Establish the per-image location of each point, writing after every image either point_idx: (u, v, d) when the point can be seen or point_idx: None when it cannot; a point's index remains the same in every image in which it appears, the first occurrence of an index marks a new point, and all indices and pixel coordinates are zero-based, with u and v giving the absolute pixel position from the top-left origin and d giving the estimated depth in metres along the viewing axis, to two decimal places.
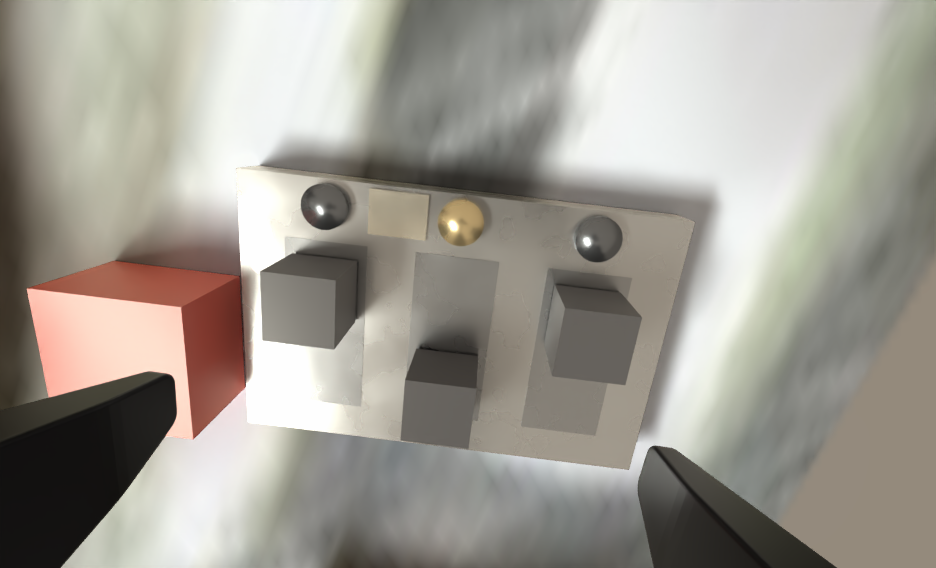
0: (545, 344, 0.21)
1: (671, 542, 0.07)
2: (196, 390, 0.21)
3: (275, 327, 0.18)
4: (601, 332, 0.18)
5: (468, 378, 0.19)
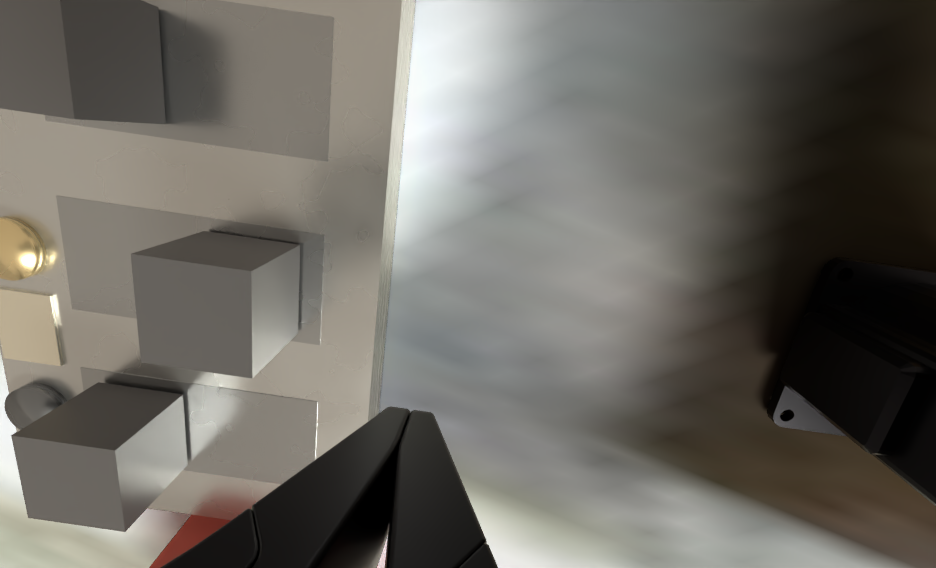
0: (147, 122, 0.13)
1: (392, 500, 0.07)
2: None
3: (101, 513, 0.14)
4: None
5: None
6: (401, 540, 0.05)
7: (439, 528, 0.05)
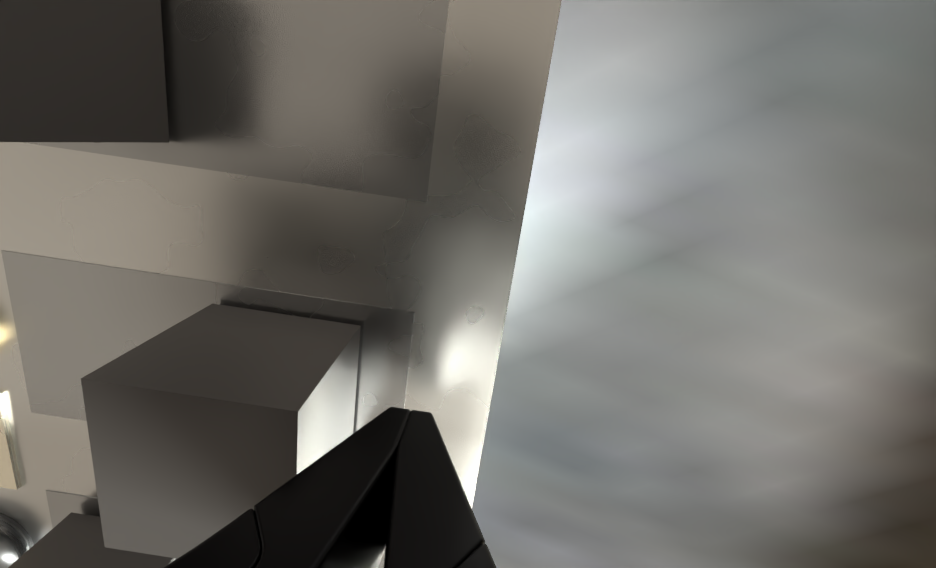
0: None
1: (390, 500, 0.07)
2: None
3: None
4: None
5: None
6: (399, 540, 0.05)
7: (437, 528, 0.05)
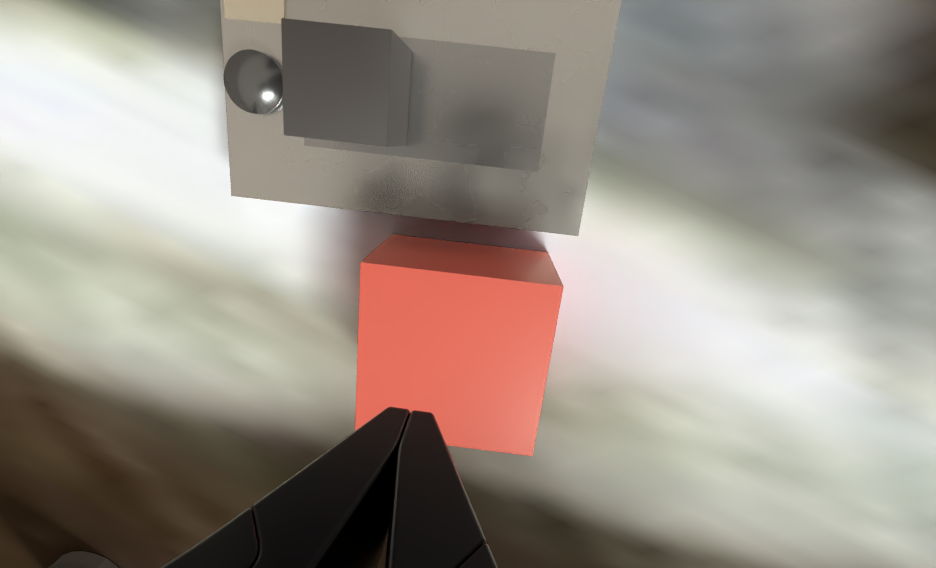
0: None
1: (391, 500, 0.07)
2: (493, 273, 0.15)
3: (363, 123, 0.13)
4: None
5: None
6: (401, 540, 0.05)
7: (439, 528, 0.05)
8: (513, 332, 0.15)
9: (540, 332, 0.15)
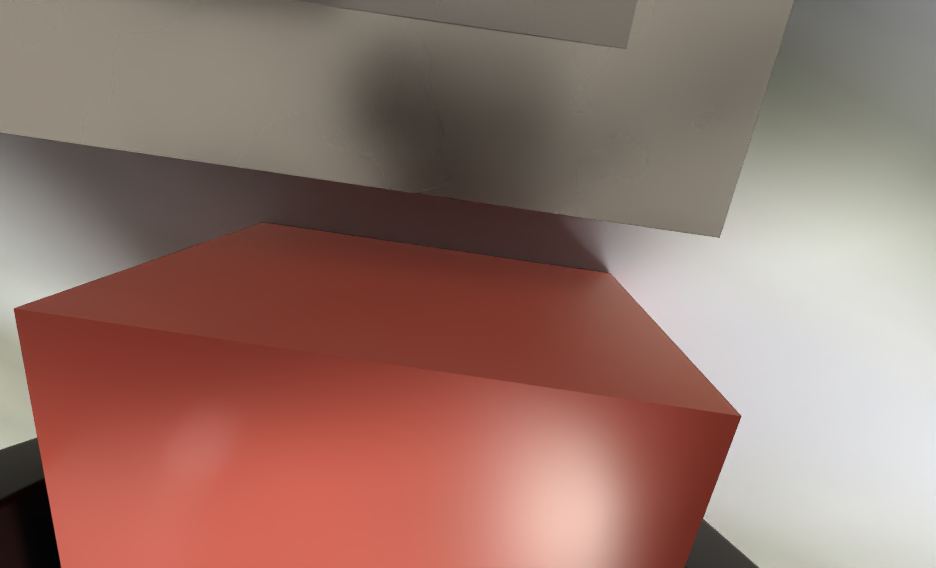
0: None
1: None
2: (489, 352, 0.05)
3: None
4: None
5: None
6: None
7: None
8: (551, 547, 0.05)
9: (640, 552, 0.05)
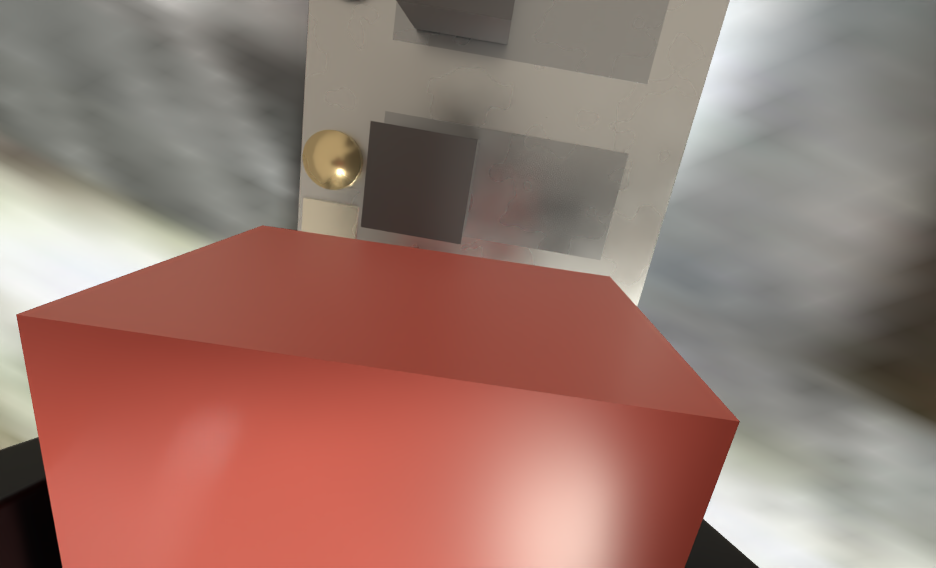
0: (500, 41, 0.14)
1: None
2: (489, 357, 0.05)
3: None
4: None
5: None
6: None
7: None
8: (550, 551, 0.05)
9: (639, 556, 0.05)
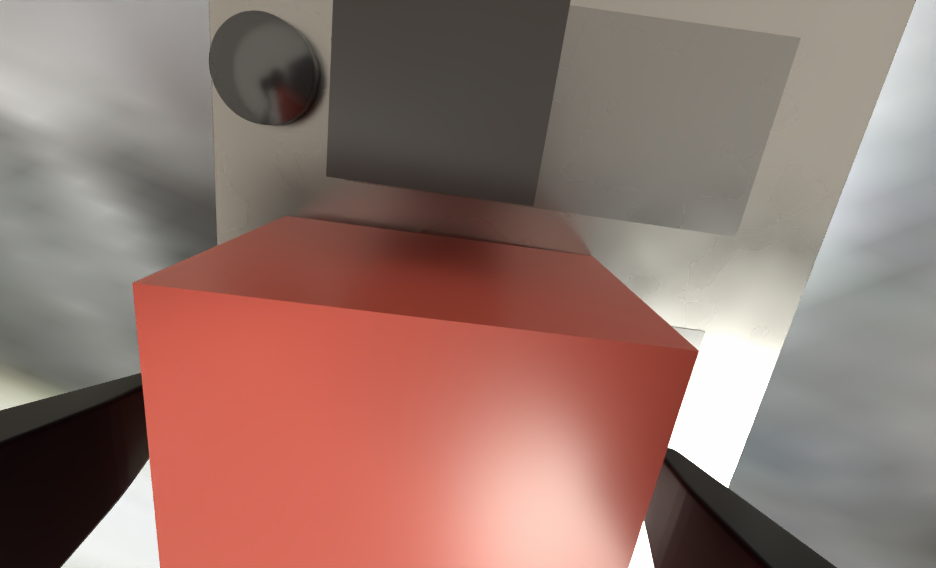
0: None
1: (671, 542, 0.07)
2: (508, 311, 0.06)
3: None
4: (392, 65, 0.06)
5: None
6: None
7: None
8: (558, 462, 0.06)
9: (626, 462, 0.06)
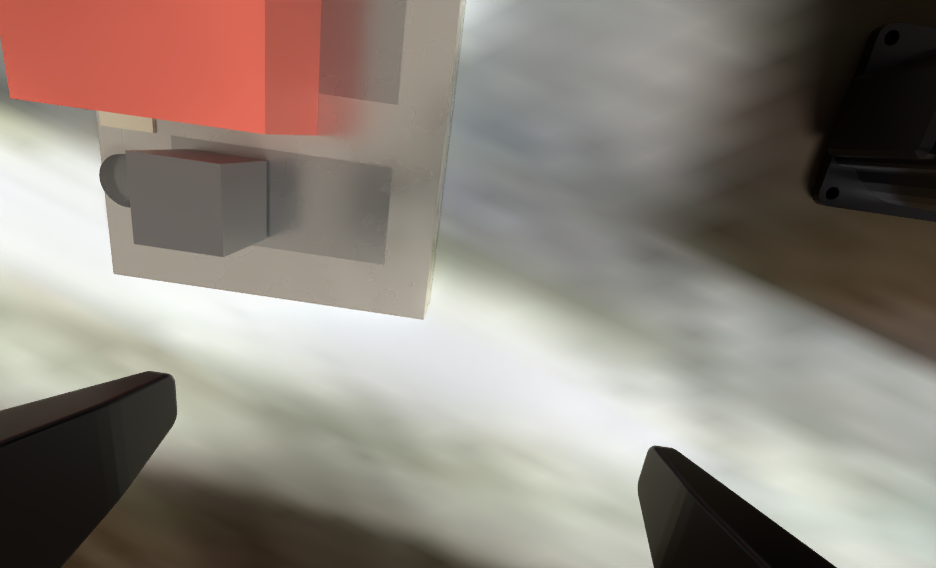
0: None
1: (671, 542, 0.07)
2: None
3: (202, 237, 0.15)
4: None
5: None
6: None
7: None
8: None
9: None
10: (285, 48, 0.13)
